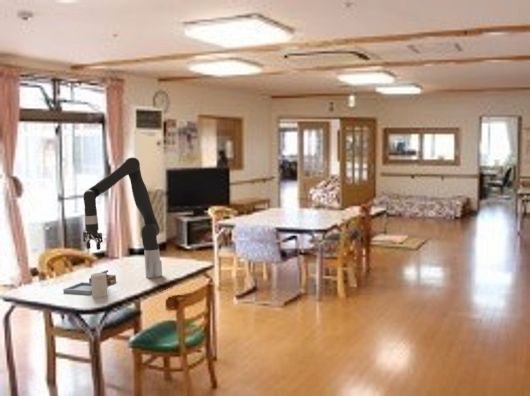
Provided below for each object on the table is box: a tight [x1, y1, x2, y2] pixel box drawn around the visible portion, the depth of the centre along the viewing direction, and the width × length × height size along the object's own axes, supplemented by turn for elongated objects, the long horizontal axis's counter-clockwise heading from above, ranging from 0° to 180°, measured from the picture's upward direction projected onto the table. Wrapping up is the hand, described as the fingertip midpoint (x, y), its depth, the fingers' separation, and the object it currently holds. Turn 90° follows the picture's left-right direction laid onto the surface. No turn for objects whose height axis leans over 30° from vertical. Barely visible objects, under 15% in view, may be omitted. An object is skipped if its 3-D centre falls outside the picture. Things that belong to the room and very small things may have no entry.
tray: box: [63, 281, 109, 296], centre depth 340 cm, size 18×16×2 cm
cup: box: [90, 272, 109, 299], centre depth 325 cm, size 8×8×12 cm
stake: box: [100, 269, 109, 278], centre depth 353 cm, size 2×5×8 cm, turn 159°
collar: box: [88, 274, 117, 286], centre depth 354 cm, size 13×11×4 cm
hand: (93, 249), depth 359 cm, fingers open, 8 cm apart
